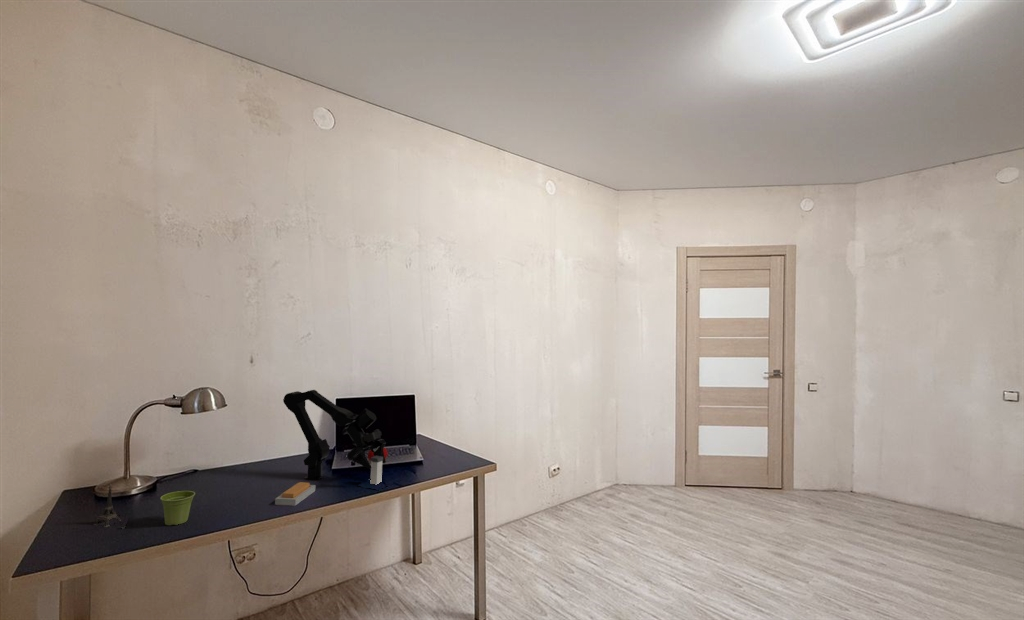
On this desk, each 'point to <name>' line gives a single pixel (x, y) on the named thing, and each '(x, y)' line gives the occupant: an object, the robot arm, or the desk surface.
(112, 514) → the eiffel tower figurine
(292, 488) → the button
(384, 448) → the red heart figurine
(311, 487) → the button housing
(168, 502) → the plant pot
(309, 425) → the robot arm
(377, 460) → the white tall block
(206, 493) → the desk surface
